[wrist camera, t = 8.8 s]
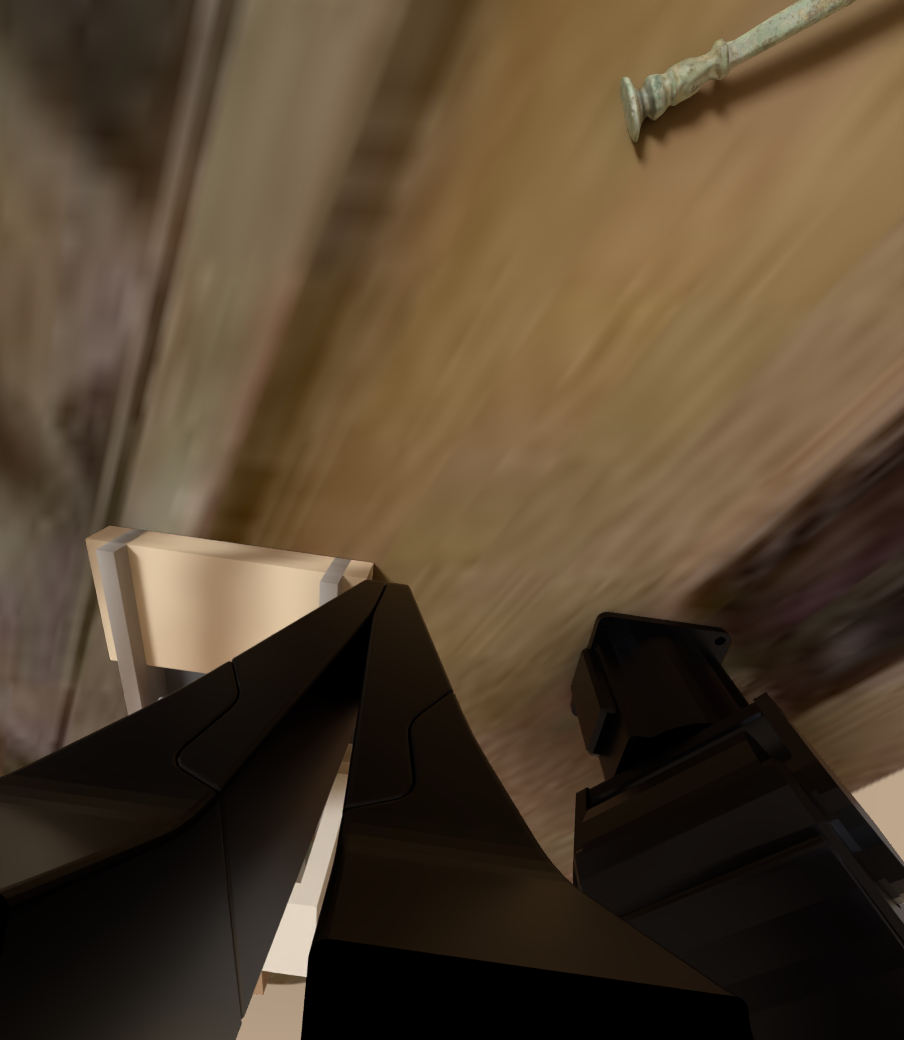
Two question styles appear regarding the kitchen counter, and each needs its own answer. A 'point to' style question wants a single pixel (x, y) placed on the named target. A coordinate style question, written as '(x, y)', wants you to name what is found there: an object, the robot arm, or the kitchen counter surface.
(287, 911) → the tunnel
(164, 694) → the track deck
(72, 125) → the kitchen counter surface
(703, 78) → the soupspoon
